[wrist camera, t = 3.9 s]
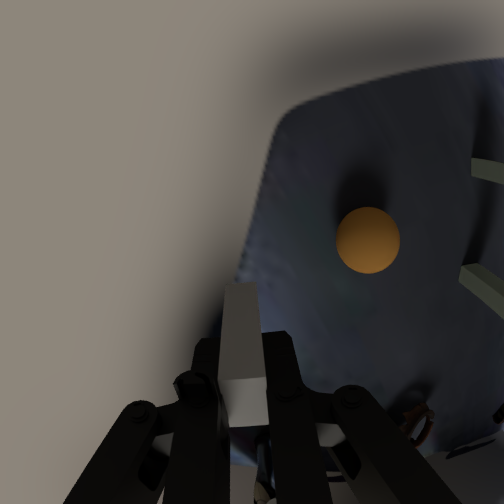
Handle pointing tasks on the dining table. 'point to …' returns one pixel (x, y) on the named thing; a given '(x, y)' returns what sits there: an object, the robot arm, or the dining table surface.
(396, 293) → the dining table surface
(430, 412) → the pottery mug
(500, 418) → the diary
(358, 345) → the dining table surface
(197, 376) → the robot arm
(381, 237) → the ball
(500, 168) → the bridge
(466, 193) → the dining table surface
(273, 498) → the beer glass
